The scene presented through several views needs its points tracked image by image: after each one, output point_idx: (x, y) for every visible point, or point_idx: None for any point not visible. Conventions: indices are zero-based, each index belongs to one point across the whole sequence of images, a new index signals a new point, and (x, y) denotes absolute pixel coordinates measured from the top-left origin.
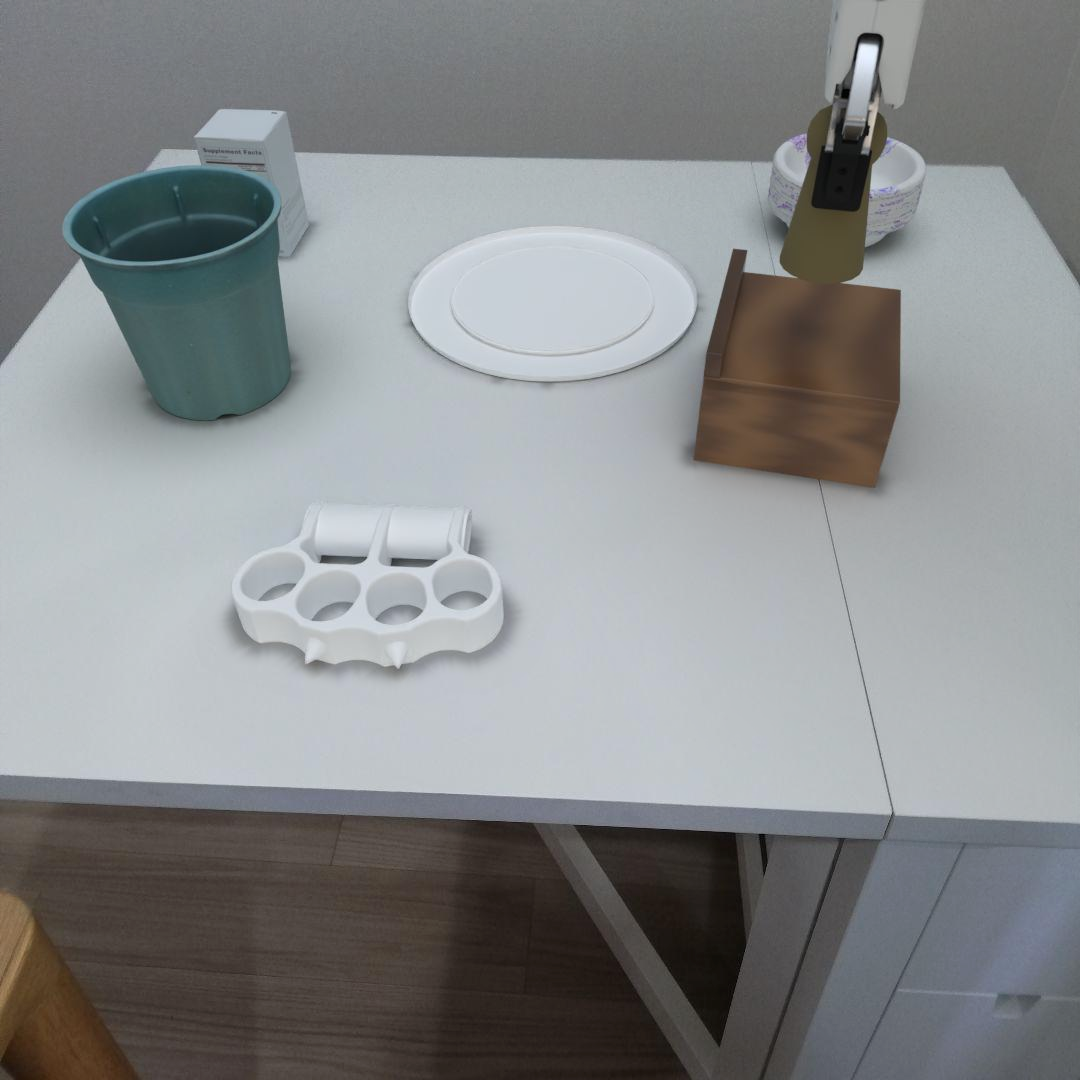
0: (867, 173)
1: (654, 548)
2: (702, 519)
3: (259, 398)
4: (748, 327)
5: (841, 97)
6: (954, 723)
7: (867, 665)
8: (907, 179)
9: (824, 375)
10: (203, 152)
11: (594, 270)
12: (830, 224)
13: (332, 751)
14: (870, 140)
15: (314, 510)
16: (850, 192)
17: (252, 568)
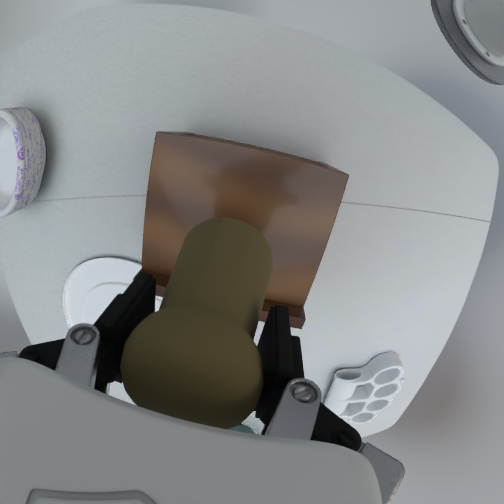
0: (290, 343)
1: (362, 299)
2: (345, 275)
3: (245, 429)
4: None
5: (98, 384)
6: (472, 183)
7: (446, 210)
8: (6, 121)
9: (306, 229)
10: None
11: (100, 313)
12: (261, 309)
13: (417, 380)
14: (318, 407)
15: None
16: (299, 344)
17: (355, 421)
